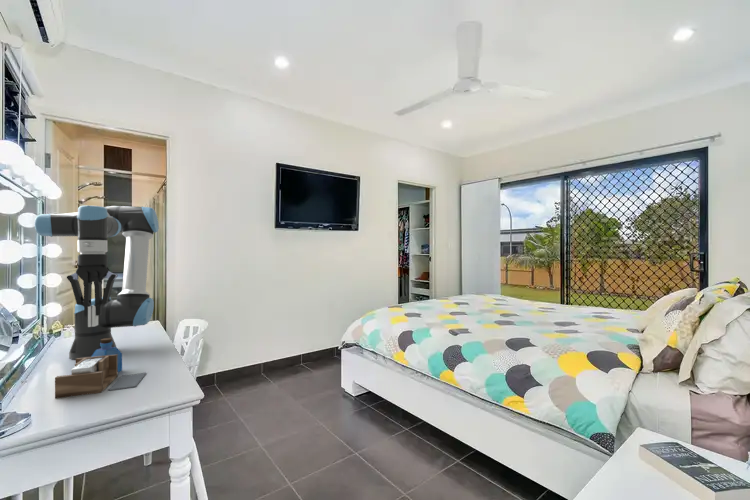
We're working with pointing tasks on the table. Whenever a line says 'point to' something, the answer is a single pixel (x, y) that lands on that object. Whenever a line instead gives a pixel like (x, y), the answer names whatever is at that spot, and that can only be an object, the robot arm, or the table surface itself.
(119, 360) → the perfume bottle
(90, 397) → the table surface
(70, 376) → the pocket jig
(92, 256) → the robot arm
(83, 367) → the bar
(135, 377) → the slate pad
